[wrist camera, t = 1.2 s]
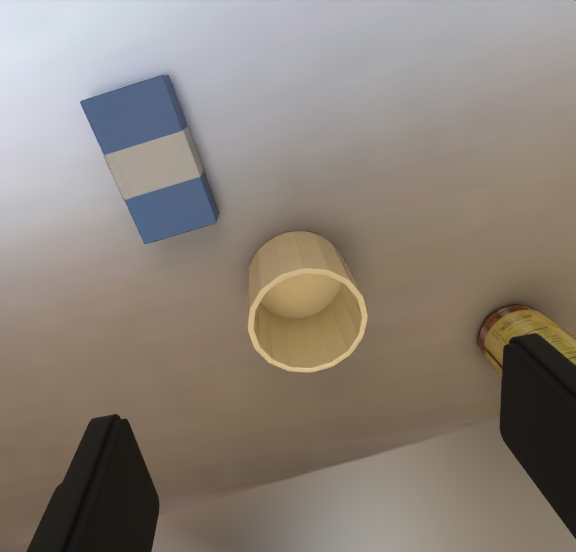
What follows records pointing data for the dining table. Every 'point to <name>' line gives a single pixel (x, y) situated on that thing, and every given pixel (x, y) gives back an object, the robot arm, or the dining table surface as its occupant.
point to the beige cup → (303, 303)
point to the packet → (152, 158)
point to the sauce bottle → (521, 333)
